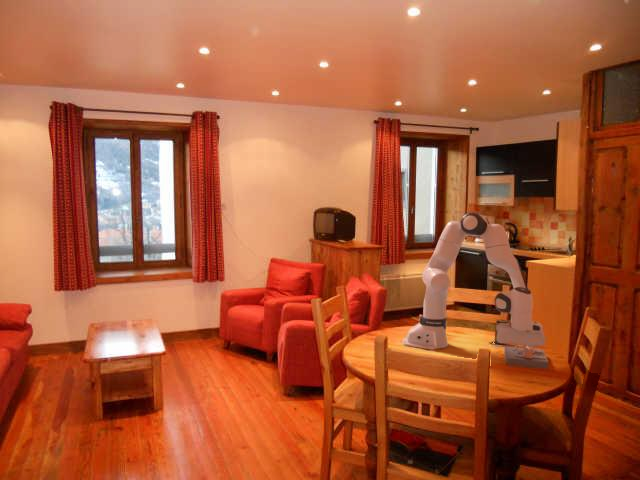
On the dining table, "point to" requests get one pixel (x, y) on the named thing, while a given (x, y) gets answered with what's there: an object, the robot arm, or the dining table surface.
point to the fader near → (528, 353)
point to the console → (520, 360)
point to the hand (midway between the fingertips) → (519, 354)
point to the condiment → (496, 334)
